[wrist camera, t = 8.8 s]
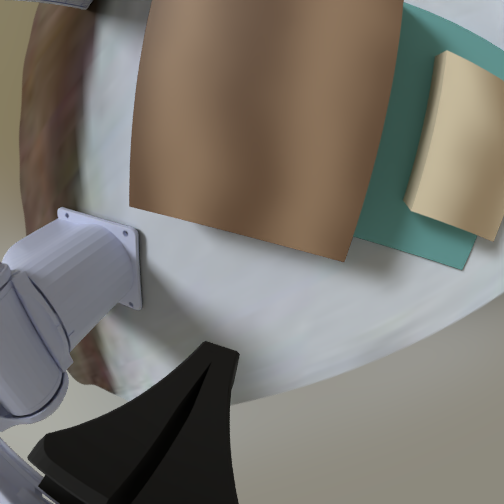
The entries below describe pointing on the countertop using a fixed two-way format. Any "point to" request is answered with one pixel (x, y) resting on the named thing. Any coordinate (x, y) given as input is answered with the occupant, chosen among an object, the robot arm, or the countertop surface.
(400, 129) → the mat
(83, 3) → the medicine box
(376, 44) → the block
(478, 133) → the cream rectangular block
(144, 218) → the countertop surface
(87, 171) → the countertop surface
